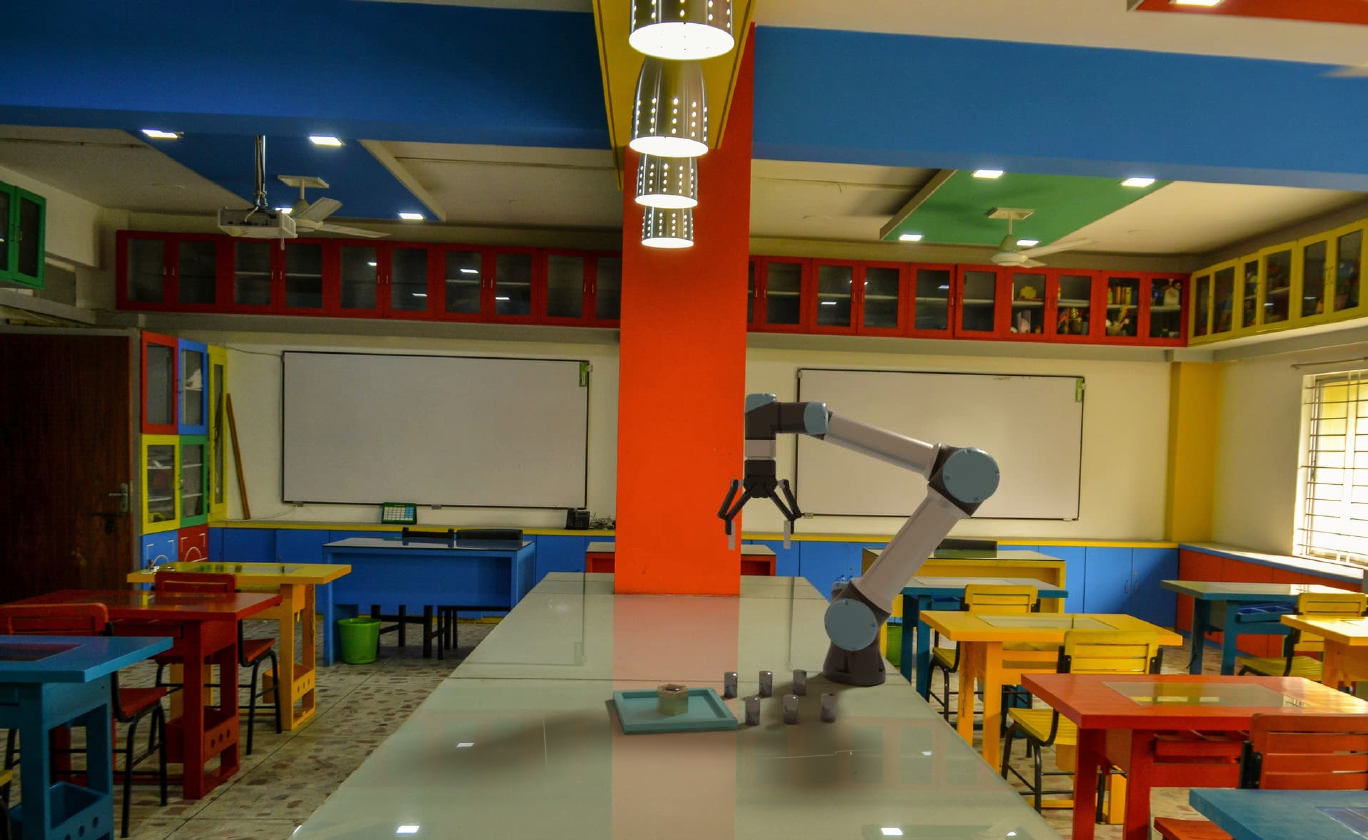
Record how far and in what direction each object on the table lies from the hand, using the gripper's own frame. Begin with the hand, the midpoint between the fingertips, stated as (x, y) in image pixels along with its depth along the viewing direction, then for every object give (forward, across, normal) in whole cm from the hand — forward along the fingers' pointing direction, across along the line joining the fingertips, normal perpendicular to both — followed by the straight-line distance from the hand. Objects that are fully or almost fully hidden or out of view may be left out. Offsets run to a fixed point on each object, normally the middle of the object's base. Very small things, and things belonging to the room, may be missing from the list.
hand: (759, 548), depth 197 cm
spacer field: (+31, +2, +18) cm, 36 cm away
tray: (+31, +25, +18) cm, 44 cm away
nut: (+31, +24, +19) cm, 43 cm away
